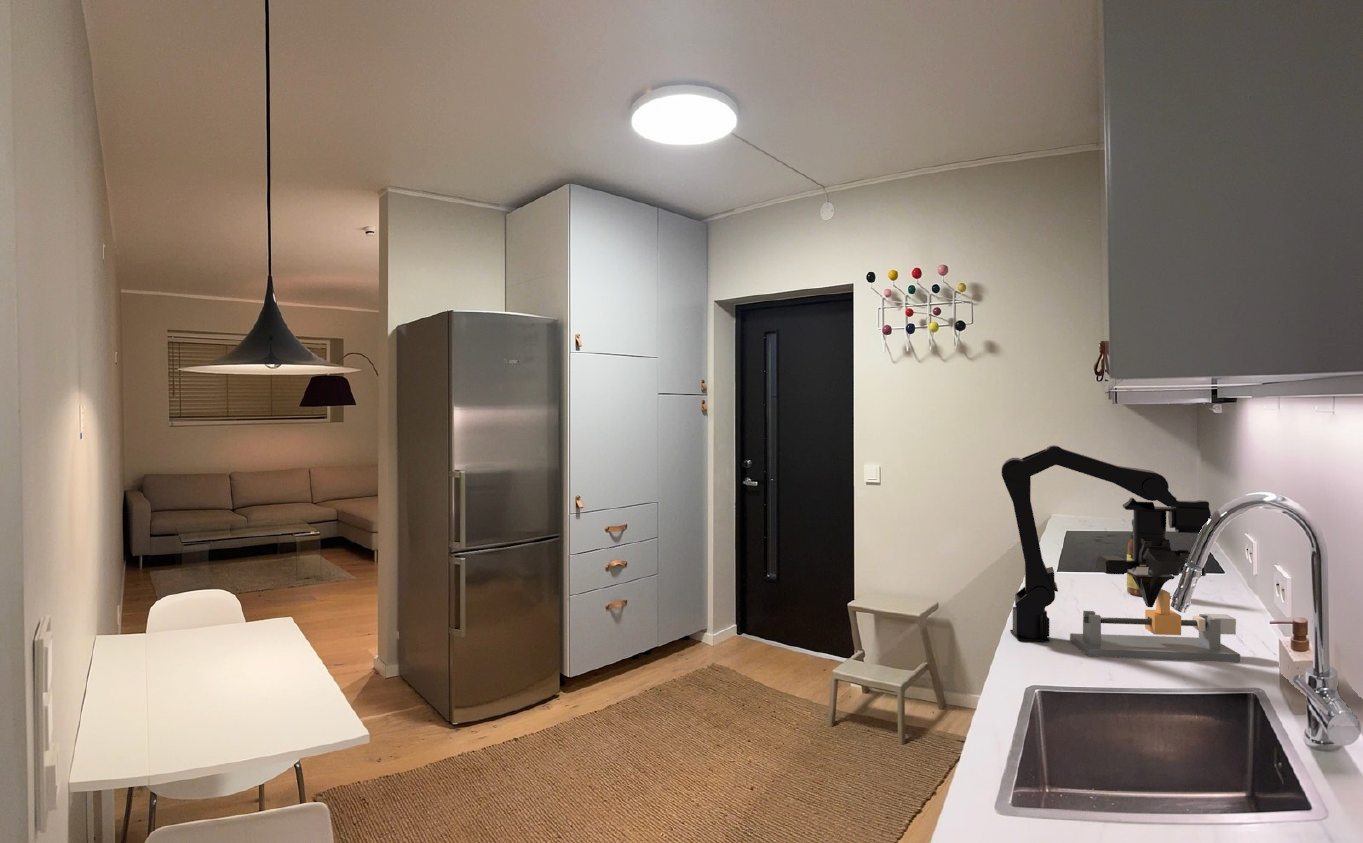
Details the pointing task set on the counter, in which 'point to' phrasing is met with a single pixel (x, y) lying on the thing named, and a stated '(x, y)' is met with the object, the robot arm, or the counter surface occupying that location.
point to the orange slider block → (1163, 617)
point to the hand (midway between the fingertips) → (1149, 606)
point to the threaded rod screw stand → (1158, 639)
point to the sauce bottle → (1131, 584)
